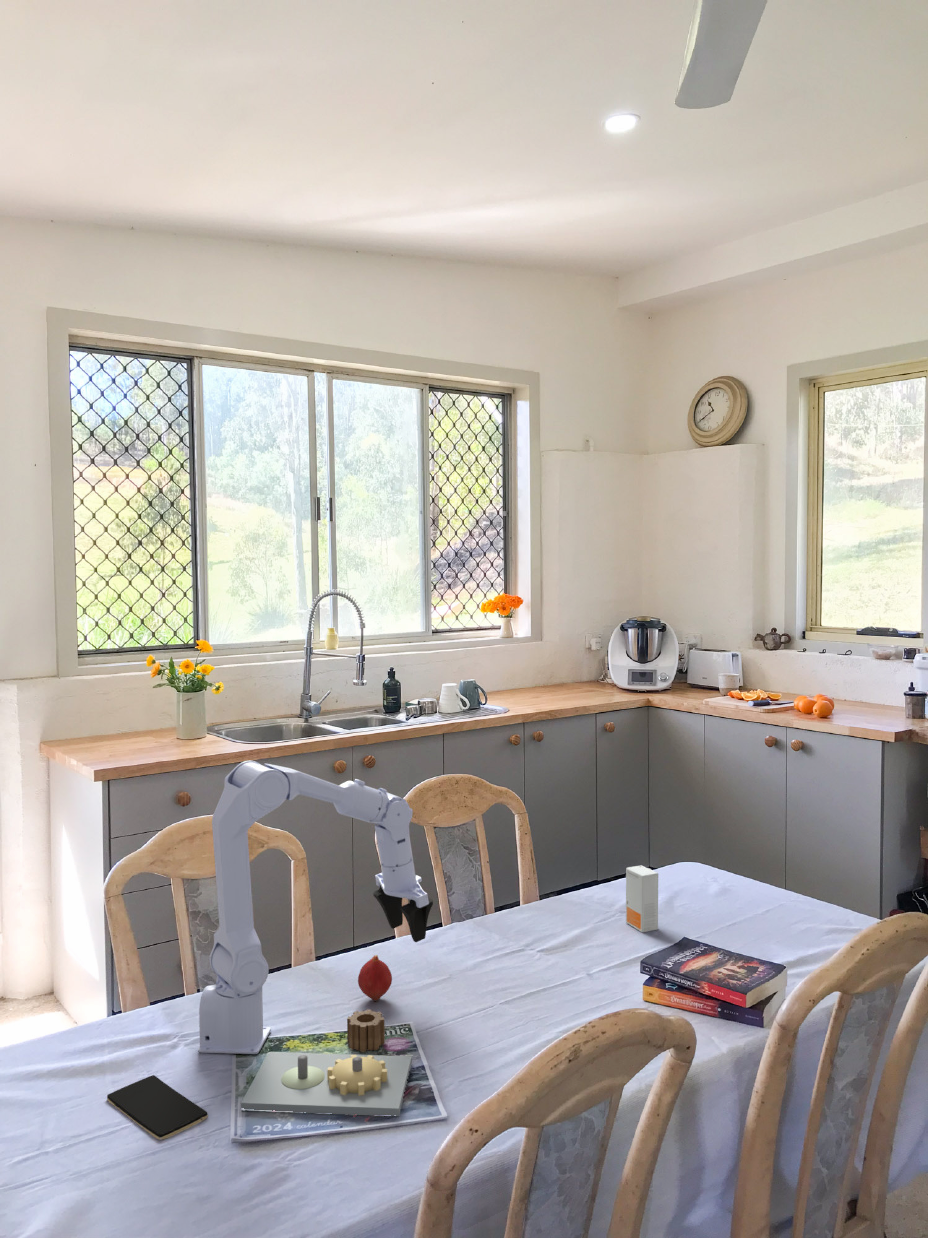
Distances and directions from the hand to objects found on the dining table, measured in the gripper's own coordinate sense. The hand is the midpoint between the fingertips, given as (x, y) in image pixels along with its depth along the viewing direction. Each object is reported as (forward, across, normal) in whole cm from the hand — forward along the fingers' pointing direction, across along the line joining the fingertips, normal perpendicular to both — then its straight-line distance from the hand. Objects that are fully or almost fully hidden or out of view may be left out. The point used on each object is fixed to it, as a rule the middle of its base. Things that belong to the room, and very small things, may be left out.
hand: (407, 933), depth 170 cm
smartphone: (+3, -11, +49) cm, 51 cm away
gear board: (+6, -20, +27) cm, 34 cm away
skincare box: (+20, -3, -53) cm, 57 cm away
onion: (+10, 0, +8) cm, 13 cm away
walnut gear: (+8, -12, +17) cm, 22 cm away
